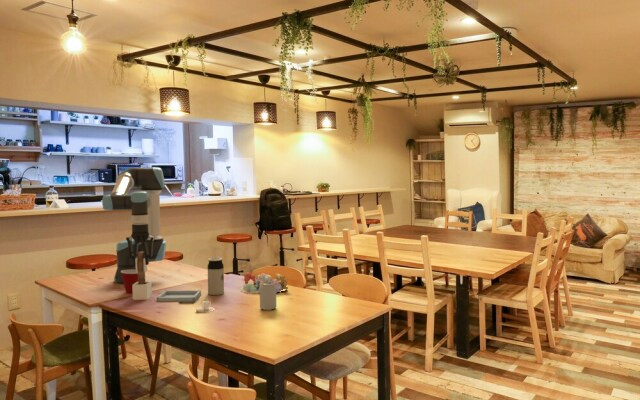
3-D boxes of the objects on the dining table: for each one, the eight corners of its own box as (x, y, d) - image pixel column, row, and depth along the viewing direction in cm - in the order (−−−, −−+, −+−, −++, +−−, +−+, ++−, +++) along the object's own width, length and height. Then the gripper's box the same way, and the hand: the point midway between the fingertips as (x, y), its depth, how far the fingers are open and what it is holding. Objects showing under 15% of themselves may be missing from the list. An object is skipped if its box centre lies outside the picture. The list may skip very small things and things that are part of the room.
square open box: (137, 297, 247) (137, 281, 246) (152, 297, 247) (151, 281, 246) (132, 301, 240) (132, 284, 239) (147, 301, 240) (147, 284, 239)
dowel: (139, 287, 244) (138, 251, 243) (146, 287, 244) (145, 251, 243) (137, 289, 241) (136, 252, 240) (144, 289, 241) (143, 252, 240)
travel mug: (204, 294, 252) (204, 259, 251) (213, 291, 259) (213, 256, 258) (218, 296, 249) (217, 260, 248) (227, 292, 256) (226, 257, 255)
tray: (165, 295, 251) (165, 290, 250) (201, 295, 251) (200, 290, 251) (156, 303, 237) (156, 297, 236) (194, 302, 237) (194, 297, 237)
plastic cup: (147, 293, 255) (146, 270, 254) (125, 297, 248) (125, 273, 247) (139, 289, 263) (138, 267, 262) (118, 293, 256) (117, 270, 255)
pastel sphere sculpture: (281, 283, 278) (281, 267, 277) (294, 293, 256) (294, 275, 255) (237, 287, 269) (236, 270, 268) (246, 297, 247) (246, 279, 246)
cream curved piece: (197, 314, 219) (197, 305, 219) (193, 309, 226) (192, 301, 226) (216, 311, 223) (216, 302, 223) (212, 307, 230) (212, 298, 230)
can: (279, 307, 228) (278, 281, 227) (272, 311, 221) (271, 285, 220) (264, 306, 230) (263, 280, 230) (257, 310, 223) (256, 284, 223)
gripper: (120, 224, 237) (121, 273, 238) (154, 224, 237) (155, 273, 239) (126, 222, 244) (127, 269, 246) (159, 222, 244) (160, 269, 246)
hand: (141, 271), depth 242 cm, fingers closed on dowel, 3 cm apart
